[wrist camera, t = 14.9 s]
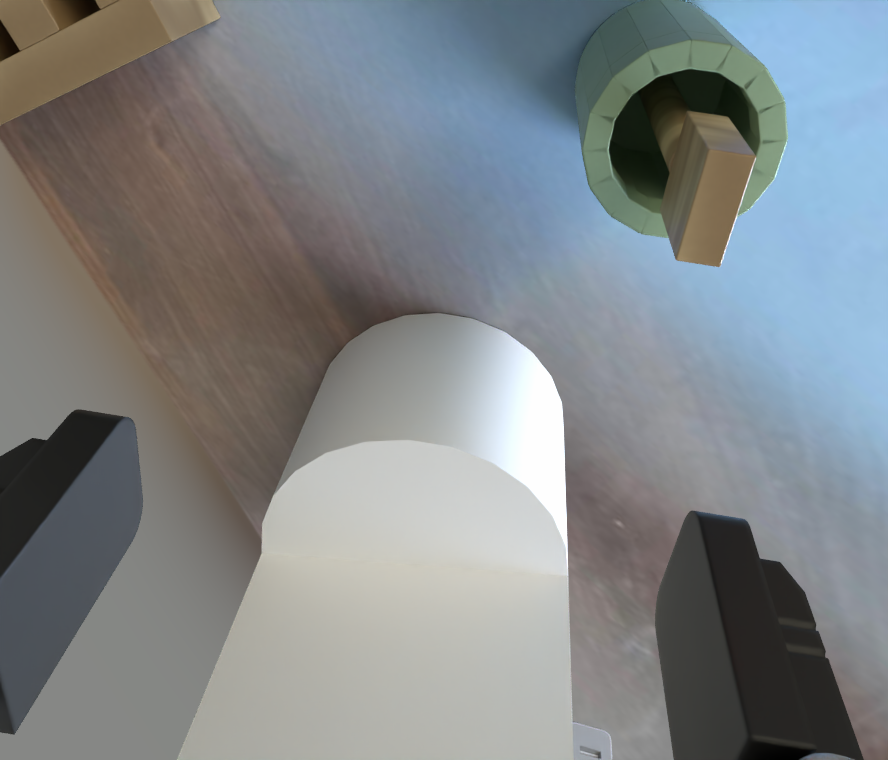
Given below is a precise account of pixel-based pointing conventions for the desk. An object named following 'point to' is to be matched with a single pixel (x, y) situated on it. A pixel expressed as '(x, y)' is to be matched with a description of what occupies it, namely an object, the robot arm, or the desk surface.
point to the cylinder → (408, 565)
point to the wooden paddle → (697, 173)
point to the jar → (701, 85)
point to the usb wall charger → (591, 743)
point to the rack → (82, 42)
